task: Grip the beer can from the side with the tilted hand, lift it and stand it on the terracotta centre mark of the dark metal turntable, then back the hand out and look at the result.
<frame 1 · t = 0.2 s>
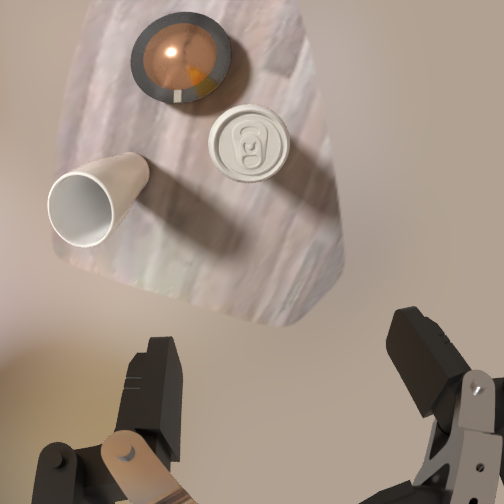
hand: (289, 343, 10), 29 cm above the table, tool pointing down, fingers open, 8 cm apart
beer can: (241, 131, 34), on the table
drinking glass: (131, 171, 35), on the table
turntable: (180, 57, 28), point 2 cm above the table, hinge at 0.0°
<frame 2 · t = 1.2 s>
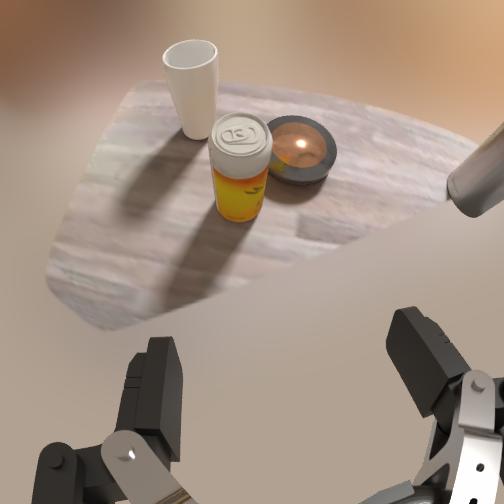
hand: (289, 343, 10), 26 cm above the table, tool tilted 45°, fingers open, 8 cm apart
beer can: (239, 204, 41), on the table
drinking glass: (199, 129, 44), on the table
turntable: (297, 148, 41), point 2 cm above the table, hinge at 0.0°
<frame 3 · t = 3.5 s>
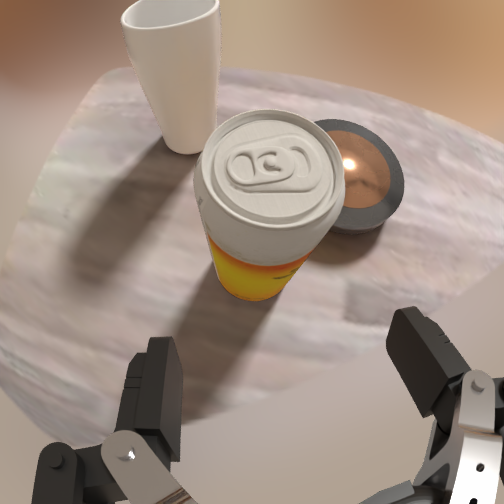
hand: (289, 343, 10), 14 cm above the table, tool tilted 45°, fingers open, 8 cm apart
beer can: (253, 265, 25), on the table
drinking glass: (191, 137, 29), on the table
turntable: (345, 172, 26), point 2 cm above the table, hinge at 0.0°
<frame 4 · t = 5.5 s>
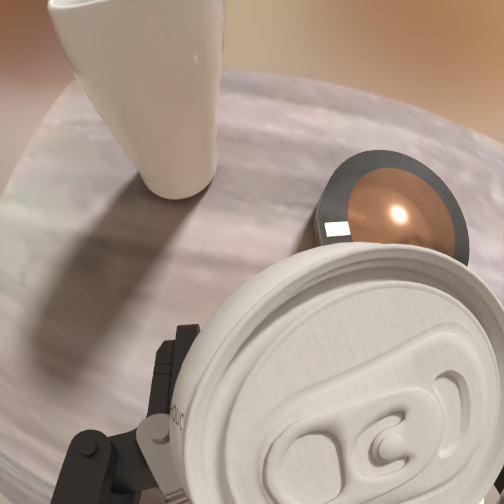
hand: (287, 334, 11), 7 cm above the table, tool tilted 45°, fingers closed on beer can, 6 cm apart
beer can: (271, 367, 17), on the table, touching gripper
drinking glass: (180, 170, 21), on the table
turntable: (399, 230, 18), point 2 cm above the table, hinge at 0.0°
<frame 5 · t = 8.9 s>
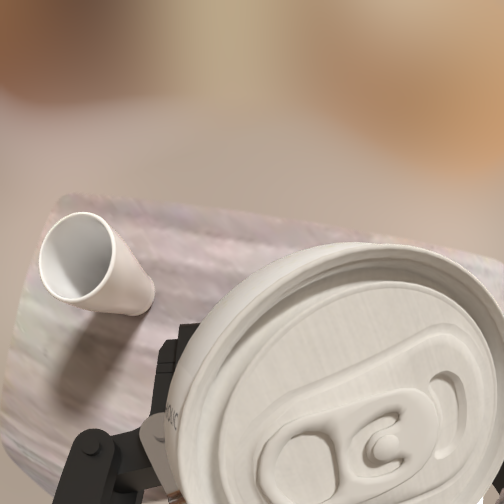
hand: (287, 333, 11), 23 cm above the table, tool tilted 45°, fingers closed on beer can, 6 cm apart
beer can: (270, 367, 17), point 15 cm above the table, touching gripper
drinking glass: (134, 293, 33), on the table
when the fingers open (12 cm above the table, at t = 11.8 s): beer can drops 1 cm, resting on turntable.
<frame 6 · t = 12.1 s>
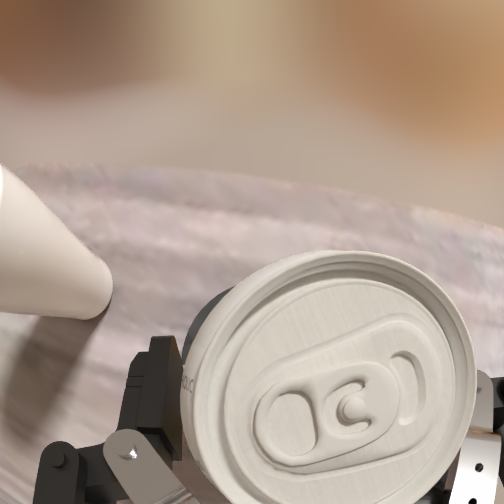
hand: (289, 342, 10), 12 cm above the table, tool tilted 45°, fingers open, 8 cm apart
beer can: (268, 368, 19), point 3 cm above the table, touching turntable
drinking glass: (88, 288, 23), on the table
turntable: (266, 362, 20), point 2 cm above the table, hinge at 0.0°, touching beer can
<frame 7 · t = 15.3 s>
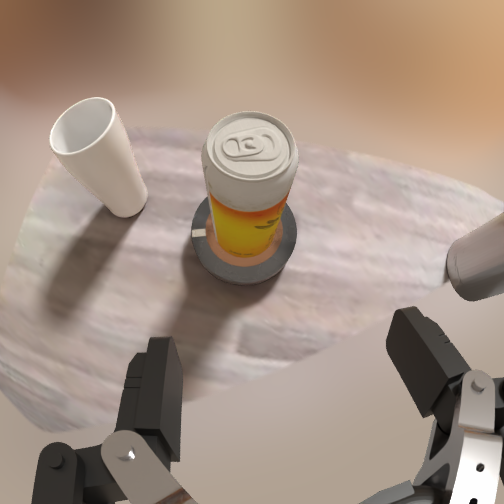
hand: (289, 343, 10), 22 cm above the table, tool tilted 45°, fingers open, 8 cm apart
beer can: (244, 232, 32), point 3 cm above the table, touching turntable
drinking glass: (129, 200, 36), on the table
turntable: (243, 232, 33), point 2 cm above the table, hinge at 0.0°, touching beer can
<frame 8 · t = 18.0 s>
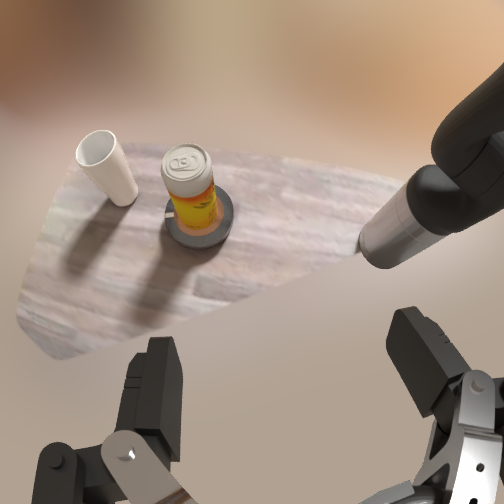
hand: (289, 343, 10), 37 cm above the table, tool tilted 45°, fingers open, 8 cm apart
beer can: (198, 214, 48), point 3 cm above the table, touching turntable
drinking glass: (125, 194, 52), on the table
turntable: (199, 214, 49), point 2 cm above the table, hinge at 0.0°, touching beer can
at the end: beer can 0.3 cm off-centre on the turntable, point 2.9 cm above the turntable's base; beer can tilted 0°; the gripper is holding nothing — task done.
